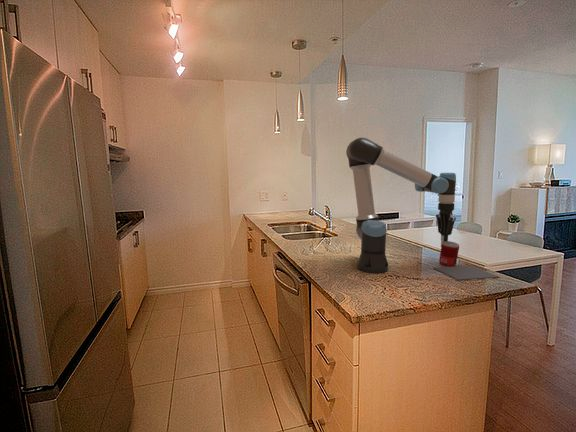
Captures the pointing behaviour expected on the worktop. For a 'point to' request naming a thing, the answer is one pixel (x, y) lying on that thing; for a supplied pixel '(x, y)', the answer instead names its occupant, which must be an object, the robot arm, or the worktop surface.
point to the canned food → (449, 253)
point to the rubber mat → (465, 272)
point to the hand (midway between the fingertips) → (443, 247)
